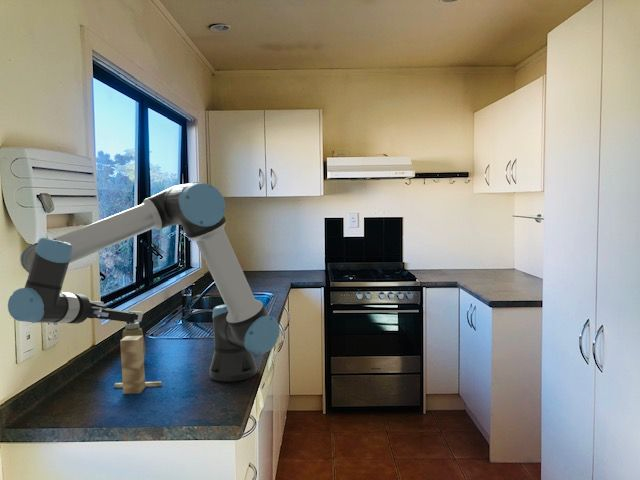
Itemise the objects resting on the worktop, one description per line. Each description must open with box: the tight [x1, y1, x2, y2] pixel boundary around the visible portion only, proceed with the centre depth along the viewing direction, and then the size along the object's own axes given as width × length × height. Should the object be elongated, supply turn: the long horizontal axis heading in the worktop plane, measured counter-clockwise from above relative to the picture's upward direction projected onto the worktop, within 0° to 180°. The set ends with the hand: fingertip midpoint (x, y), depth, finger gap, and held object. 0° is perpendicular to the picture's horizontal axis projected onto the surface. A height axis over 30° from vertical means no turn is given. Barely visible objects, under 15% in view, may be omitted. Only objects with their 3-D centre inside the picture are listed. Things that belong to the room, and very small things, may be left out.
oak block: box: [119, 335, 146, 395], centre depth 155 cm, size 5×5×16 cm
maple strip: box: [114, 381, 163, 389], centre depth 159 cm, size 14×1×1 cm, turn 92°
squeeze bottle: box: [121, 321, 147, 357], centre depth 182 cm, size 8×8×18 cm
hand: (121, 311), depth 149 cm, fingers open, 13 cm apart
